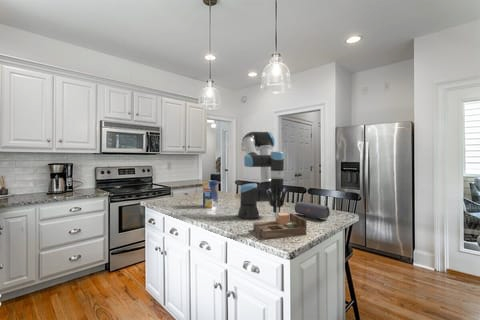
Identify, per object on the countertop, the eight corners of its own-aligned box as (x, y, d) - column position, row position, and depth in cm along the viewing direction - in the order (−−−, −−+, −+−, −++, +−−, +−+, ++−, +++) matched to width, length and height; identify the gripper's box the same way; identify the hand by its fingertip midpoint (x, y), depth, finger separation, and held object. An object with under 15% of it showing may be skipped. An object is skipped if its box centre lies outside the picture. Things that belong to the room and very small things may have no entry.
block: (275, 221, 142) (275, 213, 142) (284, 220, 144) (284, 212, 144) (280, 224, 136) (280, 215, 136) (289, 223, 138) (289, 214, 138)
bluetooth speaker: (293, 215, 172) (294, 201, 172) (300, 213, 179) (300, 200, 179) (323, 222, 156) (323, 206, 156) (330, 219, 163) (330, 204, 163)
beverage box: (208, 205, 207) (208, 179, 207) (217, 206, 200) (217, 180, 200) (202, 206, 202) (202, 180, 201) (211, 208, 195) (211, 181, 194)
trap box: (253, 229, 139) (253, 216, 139) (291, 225, 147) (291, 213, 147) (264, 239, 123) (264, 223, 123) (306, 234, 131) (306, 220, 131)
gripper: (269, 178, 133) (269, 220, 134) (290, 178, 137) (289, 218, 137) (264, 177, 140) (263, 217, 141) (283, 177, 144) (283, 215, 145)
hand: (276, 217), depth 139 cm, fingers closed
